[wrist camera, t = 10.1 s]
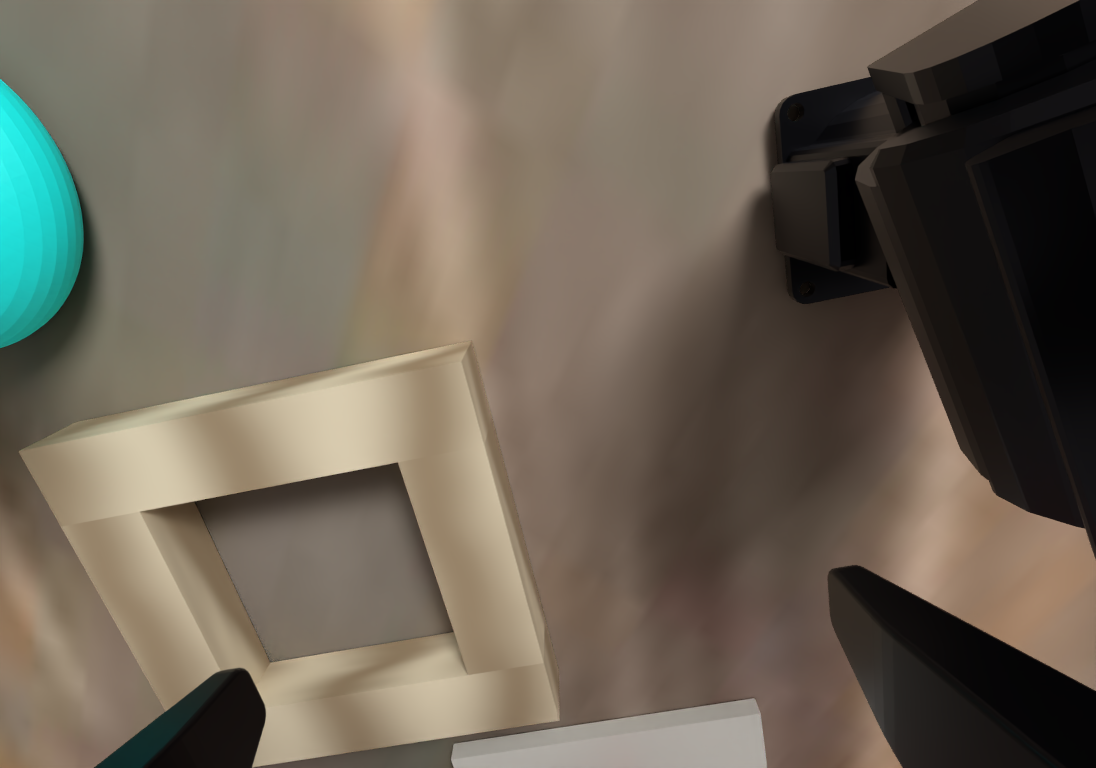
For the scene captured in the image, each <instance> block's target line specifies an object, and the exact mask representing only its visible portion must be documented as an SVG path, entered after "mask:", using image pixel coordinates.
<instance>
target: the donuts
mask: <svg viewBox="0 0 1096 768" xmlns="http://www.w3.org/2000/svg"><path fill="white" fill-rule="evenodd" d="M83 242H84V231H83V219H82V212H81V207H80V202H79V198H78V194H77V191H76V188H75V185H74V182H73V179H72V176H71V174H70V171H69V169H68V167H67V165H66V162H65V160H64V158H63V156H62V154H61V152H60V150H59V149H58V147H57V145H56V144H55V142H54V140H53V139H52V137H51V136H50V134H49V133H48V131H47V130H46V128H45V127H44V126H43V124H42V123H41V122H40V120H39V119H38V118H37V116H36V115H35V114H34V113H33V111H32V110H31V109H30V108H29V107H28V106H27V104H26V103H25V102H24V101H23V100H22V99H21V98H20V97H19V96H18V95H17V94H16V93H15V92H14V91H13V90H12V89H11V88H10V87H9V86H7V85H6V84H5V83H4V82H3V81H2V80H1V79H0V348H2V347H5V346H9V345H11V344H14V343H16V342H18V341H20V340H22V339H24V338H26V337H27V336H29V335H30V334H32V333H34V332H35V331H36V330H38V329H39V328H41V327H42V326H43V325H44V324H46V323H47V322H48V321H49V320H50V319H51V318H52V317H53V316H54V315H55V314H56V313H57V312H58V310H59V309H60V308H61V306H62V305H63V304H64V302H65V300H66V299H67V297H68V296H69V294H70V292H71V290H72V288H73V285H74V283H75V281H76V278H77V276H78V273H79V269H80V265H81V260H82V254H83Z"/></svg>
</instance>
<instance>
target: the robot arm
mask: <svg viewBox="0 0 1096 768" xmlns="http://www.w3.org/2000/svg"><path fill="white" fill-rule="evenodd" d="M867 68H868V70H869V73H870V76H871V77H868V78H864V79H860V80H855V81H851V82H847V83H842V84H838V85H833V86H829V87H825V88H820V89H816V90H812V91H807V92H803V93H799V94H794V95H792V96H789V97H787V98H784V99H783V100H782V101H781V102H780V103H779V104H778V106H777V108H776V110H775V130H776V143H777V156H778V164H777V165H776V166H775V168H774V169H773V170H772V172H771V188H772V200H773V212H774V225H775V237H776V248H777V250H778V251H780V252H781V253H782V254H784V255H785V261H786V274H787V287H788V293H789V296H790V297H791V298H792V299H793V300H795V301H797V302H800V303H802V304H809V303H814V302H819V301H824V300H829V299H834V298H839V297H844V296H849V295H854V294H859V293H864V292H869V291H874V290H879V289H884V288H889V287H892V288H897V289H898V291H899V294H900V296H901V299H902V301H903V304H904V306H905V309H906V312H907V314H908V317H909V319H910V322H911V324H912V327H913V329H914V332H915V334H916V337H917V340H918V342H919V345H920V347H921V350H922V352H923V355H924V357H925V360H926V363H927V365H928V368H929V370H930V373H931V375H932V378H933V380H934V383H935V386H936V388H937V391H938V393H939V396H940V398H941V401H942V403H943V406H944V408H945V411H946V414H947V416H948V419H949V421H950V424H951V426H952V429H953V431H954V434H955V437H956V439H957V442H958V444H959V447H960V449H961V451H962V452H963V453H964V454H965V456H966V457H967V458H968V459H969V461H970V462H971V463H972V464H973V466H974V467H975V468H976V469H977V470H978V472H979V473H980V474H981V475H982V476H983V477H985V478H986V479H987V480H989V482H990V485H991V488H992V490H993V492H994V493H995V494H996V495H997V496H999V497H1001V498H1003V499H1005V500H1007V501H1008V502H1010V503H1012V504H1014V505H1016V506H1018V507H1020V508H1022V509H1024V510H1026V511H1028V512H1030V513H1034V514H1037V515H1040V516H1043V517H1047V518H1050V519H1053V520H1056V521H1060V522H1063V523H1066V524H1069V525H1073V526H1076V527H1081V528H1085V529H1086V532H1087V535H1088V538H1089V541H1090V544H1091V547H1092V550H1093V553H1094V556H1095V559H1096V0H978V1H976V2H974V3H973V4H971V5H969V6H968V7H966V8H964V9H963V10H961V11H959V12H958V13H956V14H954V15H953V16H951V17H949V18H947V19H946V20H944V21H942V22H941V23H939V24H937V25H936V26H934V27H932V28H931V29H929V30H927V31H926V32H924V33H922V34H921V35H919V36H917V37H916V38H914V39H912V40H911V41H909V42H907V43H906V44H904V45H902V46H901V47H899V48H897V49H896V50H894V51H892V52H891V53H889V54H887V55H886V56H884V57H882V58H880V59H879V60H877V61H875V62H874V63H872V64H871V65H869V66H868V67H867ZM791 105H795V106H797V107H798V110H799V116H798V118H797V119H796V121H791V120H790V119H789V118H788V115H787V113H788V109H789V107H790V106H791ZM805 282H809V283H810V289H809V291H808V292H807V293H805V294H803V295H802V294H801V293H800V287H801V285H802V284H803V283H805ZM828 592H829V607H830V617H831V622H832V625H833V628H834V631H835V633H836V635H837V637H838V639H839V641H840V644H841V646H842V648H843V650H844V652H845V654H846V656H847V658H848V661H849V663H850V665H851V667H852V669H853V671H854V673H855V675H856V678H857V680H858V682H859V684H860V686H861V688H862V690H863V692H864V695H865V697H866V699H867V701H868V703H869V705H870V707H871V709H872V712H873V714H874V716H875V718H876V720H877V722H878V724H879V726H880V728H881V730H882V732H883V734H884V736H885V738H886V740H887V742H888V743H889V745H890V747H891V749H892V750H893V752H894V754H895V756H896V757H897V759H898V761H899V762H900V764H901V766H902V767H903V768H1096V691H1095V690H1093V689H1091V688H1089V687H1087V686H1085V685H1084V684H1082V683H1080V682H1078V681H1076V680H1074V679H1072V678H1070V677H1069V676H1067V675H1065V674H1063V673H1061V672H1059V671H1057V670H1055V669H1054V668H1052V667H1050V666H1048V665H1046V664H1044V663H1042V662H1040V661H1038V660H1037V659H1035V658H1033V657H1031V656H1029V655H1027V654H1025V653H1023V652H1022V651H1020V650H1018V649H1016V648H1014V647H1012V646H1010V645H1008V644H1006V643H1005V642H1003V641H1001V640H999V639H997V638H995V637H993V636H991V635H990V634H988V633H986V632H984V631H982V630H980V629H978V628H976V627H975V626H973V625H971V624H969V623H967V622H965V621H963V620H961V619H959V618H958V617H956V616H954V615H952V614H950V613H948V612H946V611H944V610H943V609H941V608H939V607H937V606H935V605H933V604H931V603H929V602H927V601H926V600H924V599H922V598H920V597H918V596H916V595H914V594H912V593H911V592H909V591H907V590H905V589H903V588H901V587H899V586H897V585H896V584H894V583H892V582H890V581H888V580H886V579H884V578H882V577H880V576H879V575H877V574H875V573H873V572H871V571H869V570H867V569H865V568H864V567H861V566H858V565H851V566H845V567H839V568H833V569H831V570H830V571H829V574H828ZM265 720H266V708H265V704H264V702H263V700H262V698H261V696H260V694H259V692H258V690H257V687H256V685H255V683H254V681H253V679H252V677H251V675H250V673H249V672H248V671H247V670H246V669H244V668H233V669H227V670H222V671H218V672H216V673H214V674H213V675H212V676H210V677H209V678H208V679H206V680H205V681H204V682H203V683H201V684H200V685H199V686H198V687H196V688H195V689H194V690H192V691H191V692H190V693H189V694H187V695H186V696H185V697H184V698H182V699H181V700H180V701H178V702H177V703H176V704H175V705H173V706H172V707H171V708H170V709H168V710H167V711H166V712H164V713H163V714H162V715H161V716H159V717H158V718H157V719H155V720H154V721H153V722H152V723H150V724H149V725H148V726H147V727H145V728H144V729H143V730H141V731H140V732H139V733H138V734H136V735H135V736H134V737H133V738H131V739H130V740H129V741H127V742H126V743H125V744H124V745H122V746H121V747H120V748H119V749H117V750H116V751H115V752H113V753H112V754H111V755H110V756H108V757H107V758H106V759H104V760H103V761H102V762H101V763H99V764H98V765H97V766H96V767H94V768H252V766H253V763H254V759H255V756H256V752H257V749H258V745H259V742H260V739H261V735H262V732H263V728H264V725H265Z"/></svg>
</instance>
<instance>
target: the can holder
mask: <svg viewBox="0 0 1096 768" xmlns="http://www.w3.org/2000/svg"><path fill="white" fill-rule="evenodd" d="M18 452H19V454H20V455H21V457H22V459H23V461H24V462H25V464H26V466H27V468H28V470H29V471H30V473H31V475H32V477H33V478H34V480H35V482H36V484H37V485H38V487H39V489H40V491H41V492H42V494H43V496H44V498H45V499H46V501H47V503H48V505H49V507H50V508H51V510H52V512H53V514H54V515H55V517H56V519H57V521H58V522H59V524H60V526H61V528H62V529H63V531H64V533H65V535H66V537H67V538H68V540H69V542H70V544H71V545H72V547H73V549H74V551H75V552H76V554H77V556H78V558H79V559H80V561H81V563H82V565H83V567H84V568H85V570H86V572H87V574H88V575H89V577H90V579H91V581H92V582H93V584H94V586H95V588H96V589H97V591H98V593H99V595H100V597H101V598H102V600H103V602H104V604H105V605H106V607H107V609H108V611H109V612H110V614H111V616H112V618H113V619H114V621H115V623H116V625H117V627H118V628H119V630H120V632H121V634H122V635H123V637H124V639H125V641H126V642H127V644H128V646H129V648H130V649H131V651H132V653H133V655H134V657H135V658H136V660H137V662H138V664H139V665H140V667H141V669H142V671H143V672H144V674H145V676H146V678H147V679H148V681H149V683H150V685H151V687H152V688H153V690H154V692H155V694H156V695H157V697H158V699H159V701H160V702H161V704H162V706H163V708H164V709H165V711H167V710H168V709H170V708H171V707H172V706H173V705H175V704H176V703H177V702H178V701H180V700H181V699H182V698H184V697H185V696H186V695H187V694H189V693H190V692H191V691H192V690H194V689H195V688H196V687H198V686H199V685H200V684H201V683H203V682H204V681H205V680H206V679H208V678H209V677H210V676H212V675H213V674H214V673H216V672H218V671H222V670H227V669H233V668H244V669H246V670H247V671H248V672H249V673H250V675H251V677H252V679H253V681H254V683H255V685H256V687H257V690H258V692H259V694H260V696H261V698H262V700H263V702H264V704H265V708H266V720H265V725H264V728H263V732H262V735H261V739H260V742H259V745H258V749H257V752H256V756H255V759H254V763H253V766H252V767H258V766H264V765H271V764H278V763H284V762H291V761H297V760H304V759H310V758H317V757H323V756H330V755H337V754H343V753H350V752H356V751H363V750H369V749H376V748H382V747H389V746H396V745H402V744H409V743H415V742H422V741H428V740H435V739H441V738H448V737H455V736H461V735H468V734H474V733H481V732H487V731H494V730H501V729H507V728H514V727H520V726H527V725H533V724H540V723H546V722H553V721H560V719H559V669H558V665H557V662H556V658H555V654H554V650H553V647H552V643H551V639H550V635H549V631H548V628H547V624H546V620H545V616H544V612H543V609H542V605H541V601H540V597H539V594H538V590H537V586H536V582H535V578H534V575H533V571H532V567H531V563H530V559H529V556H528V552H527V548H526V544H525V541H524V537H523V533H522V529H521V525H520V522H519V518H518V514H517V510H516V506H515V503H514V499H513V495H512V491H511V488H510V484H509V480H508V476H507V472H506V469H505V465H504V461H503V457H502V453H501V450H500V446H499V442H498V438H497V435H496V431H495V427H494V423H493V419H492V416H491V412H490V408H489V404H488V400H487V397H486V393H485V389H484V385H483V382H482V378H481V374H480V370H479V366H478V363H477V359H476V355H475V351H474V347H473V344H472V341H468V342H463V343H458V344H453V345H448V346H443V347H438V348H434V349H429V350H424V351H419V352H414V353H409V354H404V355H400V356H395V357H390V358H385V359H380V360H375V361H370V362H366V363H361V364H356V365H351V366H346V367H341V368H336V369H332V370H327V371H322V372H317V373H312V374H307V375H302V376H298V377H293V378H288V379H283V380H278V381H273V382H268V383H264V384H259V385H254V386H249V387H244V388H239V389H234V390H230V391H225V392H220V393H215V394H210V395H205V396H200V397H196V398H191V399H186V400H181V401H176V402H171V403H166V404H162V405H157V406H152V407H147V408H142V409H137V410H132V411H128V412H123V413H118V414H113V415H108V416H103V417H98V418H94V419H89V420H84V421H79V422H75V423H73V424H71V425H69V426H67V427H65V428H63V429H61V430H59V431H57V432H55V433H54V434H52V435H50V436H48V437H46V438H44V439H42V440H40V441H38V442H36V443H34V444H32V445H30V446H28V447H26V448H24V449H22V450H20V451H18ZM397 462H398V464H399V467H400V470H401V473H402V476H403V479H404V482H405V485H406V488H407V491H408V494H409V497H410V500H411V503H412V506H413V510H414V513H415V516H416V519H417V522H418V525H419V528H420V531H421V534H422V537H423V540H424V543H425V546H426V549H427V552H428V555H429V558H430V561H431V564H432V567H433V570H434V573H435V576H436V579H437V582H438V585H439V588H440V591H441V594H442V597H443V600H444V603H445V606H446V609H447V612H448V615H449V618H450V621H451V624H452V627H453V630H454V632H451V633H445V634H439V635H433V636H427V637H421V638H415V639H409V640H403V641H397V642H391V643H385V644H379V645H373V646H367V647H361V648H355V649H349V650H343V651H337V652H331V653H325V654H319V655H313V656H307V657H301V658H295V659H289V660H283V661H277V662H271V663H270V661H269V659H268V657H267V655H266V653H265V651H264V648H263V646H262V644H261V642H260V640H259V638H258V636H257V634H256V631H255V629H254V627H253V625H252V623H251V621H250V619H249V617H248V615H247V612H246V610H245V608H244V606H243V604H242V602H241V600H240V598H239V595H238V593H237V591H236V589H235V587H234V585H233V583H232V581H231V578H230V576H229V574H228V572H227V570H226V568H225V566H224V564H223V561H222V559H221V557H220V555H219V553H218V551H217V549H216V547H215V544H214V542H213V540H212V538H211V536H210V534H209V532H208V530H207V527H206V525H205V523H204V521H203V519H202V517H201V515H200V513H199V511H198V508H197V506H196V504H195V502H194V501H198V500H203V499H209V498H214V497H219V496H224V495H229V494H235V493H240V492H245V491H250V490H256V489H261V488H266V487H271V486H277V485H282V484H287V483H292V482H297V481H303V480H308V479H313V478H318V477H324V476H329V475H334V474H339V473H344V472H350V471H355V470H360V469H365V468H371V467H376V466H381V465H386V464H392V463H397Z"/></svg>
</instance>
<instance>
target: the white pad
mask: <svg viewBox="0 0 1096 768" xmlns="http://www.w3.org/2000/svg"><path fill="white" fill-rule="evenodd" d="M451 761H452V764H453V767H454V768H767V762H766V754H765V745H764V737H763V729H762V721H761V713H760V711H759V708H758V706H757V703H756V700H755V698H752V699H746V700H739V701H732V702H726V703H719V704H713V705H706V706H699V707H693V708H686V709H680V710H673V711H666V712H660V713H653V714H647V715H640V716H633V717H627V718H620V719H614V720H607V721H600V722H594V723H587V724H581V725H574V726H567V727H561V728H554V729H548V730H541V731H534V732H528V733H521V734H515V735H508V736H501V737H495V738H488V739H482V740H475V741H468V742H462V743H455V744H454V745H453V751H452V757H451Z"/></svg>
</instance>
